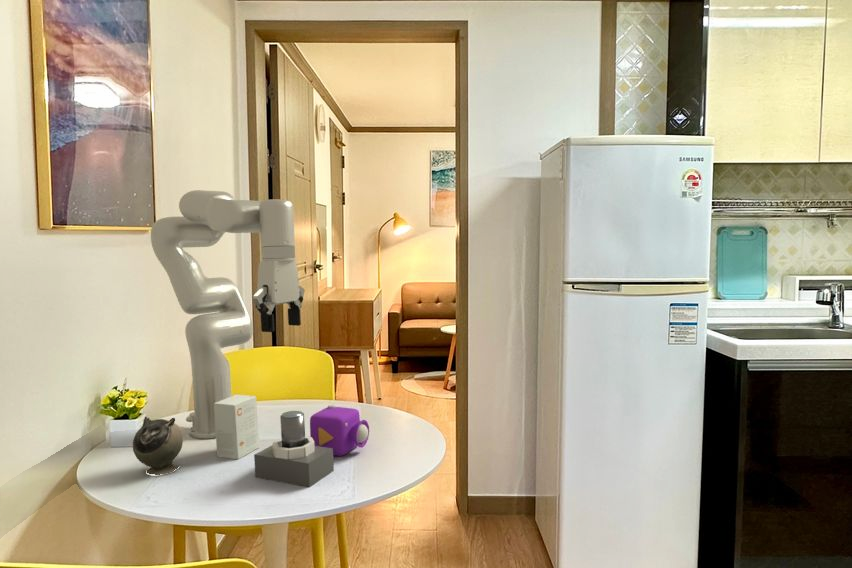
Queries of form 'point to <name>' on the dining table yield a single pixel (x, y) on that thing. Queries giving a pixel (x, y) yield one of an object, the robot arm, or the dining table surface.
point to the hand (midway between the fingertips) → (281, 328)
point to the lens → (292, 429)
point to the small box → (236, 426)
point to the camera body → (294, 463)
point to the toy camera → (339, 429)
